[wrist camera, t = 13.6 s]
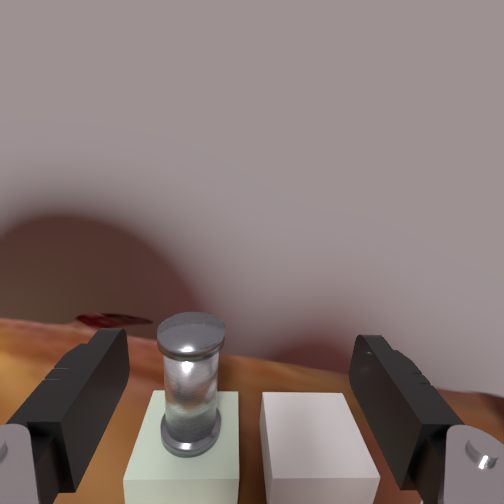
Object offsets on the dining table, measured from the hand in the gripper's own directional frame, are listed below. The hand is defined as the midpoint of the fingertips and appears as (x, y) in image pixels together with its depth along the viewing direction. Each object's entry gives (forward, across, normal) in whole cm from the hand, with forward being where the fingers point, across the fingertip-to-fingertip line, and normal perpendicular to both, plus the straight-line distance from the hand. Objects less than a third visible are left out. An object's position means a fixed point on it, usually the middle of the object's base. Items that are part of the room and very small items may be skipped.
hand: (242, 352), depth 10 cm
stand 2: (+14, -9, +26) cm, 31 cm away
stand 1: (+14, +4, +26) cm, 30 cm away
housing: (+14, +4, +21) cm, 25 cm away
